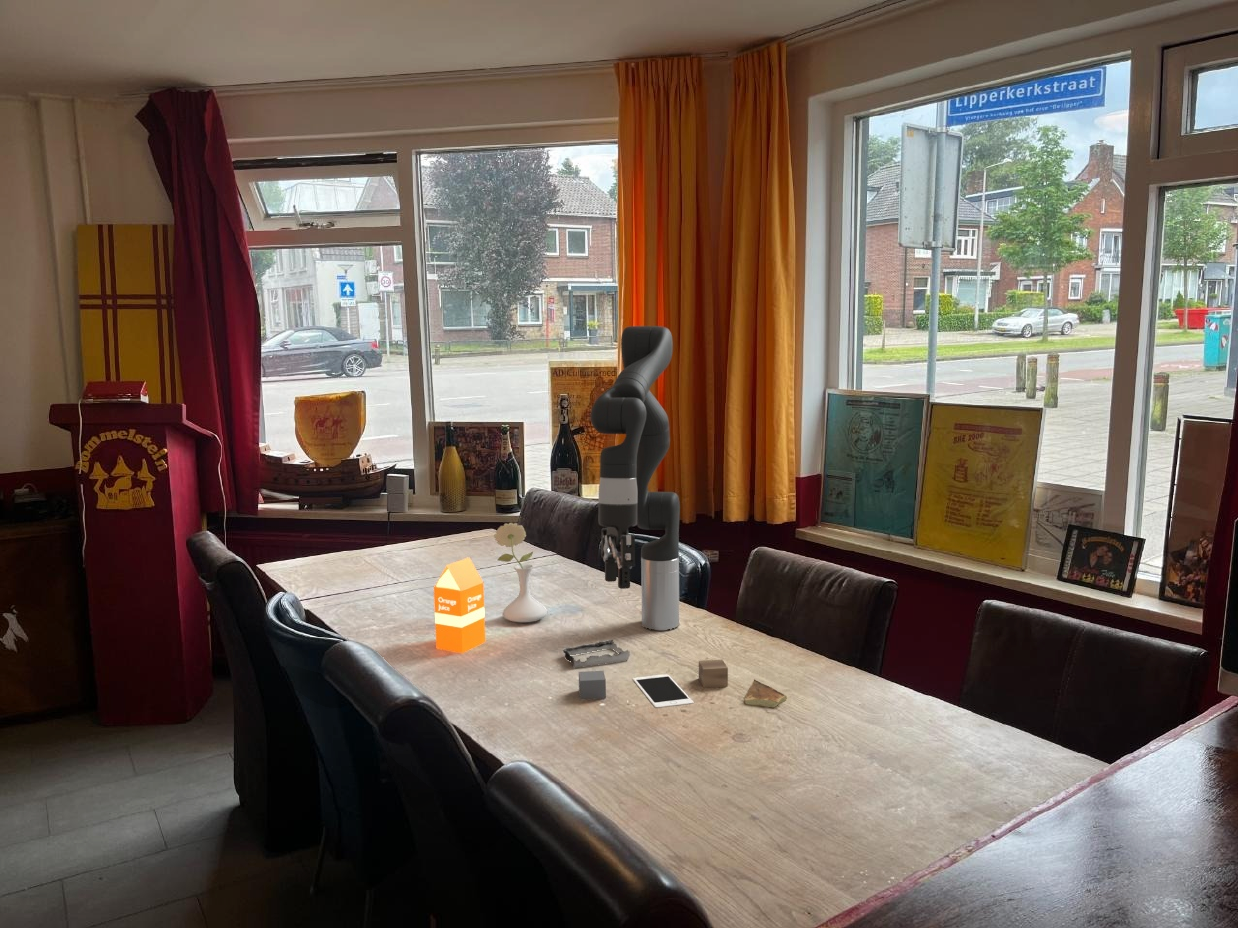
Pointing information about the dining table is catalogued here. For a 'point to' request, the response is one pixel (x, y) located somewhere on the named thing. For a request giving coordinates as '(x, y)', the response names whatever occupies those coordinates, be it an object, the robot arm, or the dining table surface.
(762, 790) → the dining table surface
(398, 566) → the dining table surface
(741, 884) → the dining table surface
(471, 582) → the orange juice
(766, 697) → the shard
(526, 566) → the flower in vase
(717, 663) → the walnut block
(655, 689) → the cell phone
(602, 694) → the charcoal block
